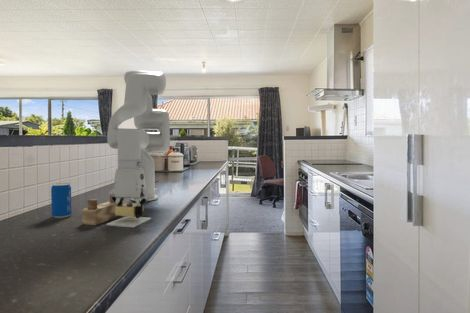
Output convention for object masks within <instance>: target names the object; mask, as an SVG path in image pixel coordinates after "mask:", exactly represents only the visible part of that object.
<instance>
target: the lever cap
mask: <svg viewBox="0 0 470 313" xmlns="http://www.w3.org/2000/svg"><path fill="white" fill-rule="evenodd" d="M136 206H137V203H136V202H124V203H123V204H121V205H118V206H115V215H118V216H119V217H125V216H131V217H133V216H134V217H136Z"/></svg>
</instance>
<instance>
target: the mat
mask: <svg viewBox="0 0 470 313" xmlns="http://www.w3.org/2000/svg"><path fill="white" fill-rule="evenodd" d="M150 220H152V217H143V216H142V217H139V218H136V216H133V217H131V216H122V217H121V218H118V219H116V220H113V221H110V222H107V223H106V226H111V227H123V228H135V227H137V226H140V225H141V224H143V223H146V222H148V221H150Z"/></svg>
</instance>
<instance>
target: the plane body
mask: <svg viewBox="0 0 470 313" xmlns="http://www.w3.org/2000/svg"><path fill="white" fill-rule="evenodd" d="M123 202H124V201H123ZM123 202H122V204H124V203H123ZM115 206H117V205H115V202H114V201H113V200H112V198H111V197H110V196H109V201H106V202H103V203H99V204H98V199H96V198H90V199H87V207H86V208H82V209H81V211H82V212H81V215H82V222H81V223H82V225H90V226H97V225H99V224H102V223H105V222H107V221H110V220H113V219H115V218H118V216H117V215H115Z"/></svg>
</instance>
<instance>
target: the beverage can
mask: <svg viewBox="0 0 470 313" xmlns="http://www.w3.org/2000/svg"><path fill="white" fill-rule="evenodd" d="M50 196H51V201H50V202H51V217H53V218H54V219H65V218H69V217H70V216H71V215H72V212H73V211H72V186H71V184H70V183H69V182H68V183H67V182H59V183H53V184H52V186H51V187H50Z"/></svg>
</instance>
